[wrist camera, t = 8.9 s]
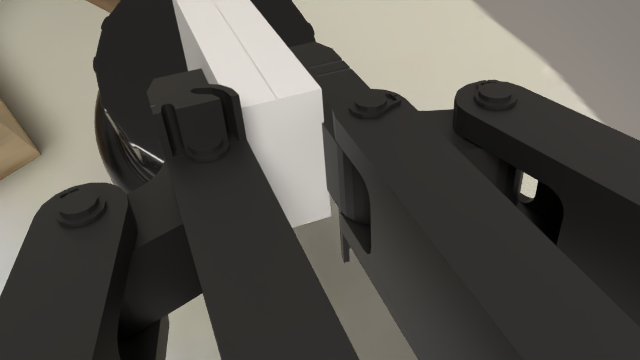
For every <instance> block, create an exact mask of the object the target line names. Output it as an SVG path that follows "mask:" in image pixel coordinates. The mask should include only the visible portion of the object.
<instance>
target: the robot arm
mask: <svg viewBox="0 0 640 360" xmlns="http://www.w3.org/2000/svg"><path fill="white" fill-rule="evenodd" d="M172 1H173V6H174V10H175V15H176V19H177V24H178V28H179V32H180V37H181V41H182V46H183V50H184V55H185V59H186V63H187V68H188V71H186V72H182V73H177V74H173V75H168V76H164V77H159V78H155V79H153V81H152V83H151V85H150V87H149V88H148V90H147V95H148V99H149V102H150V106H151V109H152V113H153V117H154V121H155V124H156V128H157V131H158V135H159V139H160V142H161V146H162V149H163V153H164V163H163V166H162V168H161V170H160V171H159V172H158V173H157V175H156V176H155V177H153V178H152V179H151V180H150V181H149V182H147V183H146V184H144V185H142V186H141V187H139V188H137V189H135V190H133V191H131V192H129V193H127V194H126V193H125V192H124V191H123V190H122V189H121V188H120V187H119V186H116V185H112V184H109V183H87V184H83V185H79V186H74V187H71V188H69V189H67V190H64V191H62V192H60V193H58V194H56V195H55V196H53V197H52V198H51V199H49V200H48V201H47V202H46V203H44V204H43V205H42V206H41V208H40V209H39V210H38V212H37V213H36V215H35V216H34V218H33V221H32V223H31V225H30V228H29V230H28V232H27V235H26V237H25V239H24V242H23V244H22V246H21V249H20V251H19V254H18V256H17V258H16V261H15V263H14V265H13V268H12V270H11V272H10V275H9V277H8V280H7V282H6V284H5V287H4V289H3V291H2V294H1V296H0V360H165V358H166V349H167V340H168V331H169V319H168V314H169V313H171V312H172V311H174V310H176V309H177V308H179V307H181V306H182V305H184V304H185V303H187V302H189V301H190V300H192V299H194V298H195V297H197V296H199V295H200V294H202V293H203V296H204V299H205V303H206V307H207V310H208V314H209V317H210V321H211V324H212V328H213V331H214V335H215V338H216V342H217V346H218V349H219V353H220V356H221V360H359V358H358V356H357V354H356V352H355V350H354V348H353V346H352V344H351V342H350V340H349V338H348V337H347V335H346V333H345V331H344V329H343V327H342V325H341V323H340V321H339V319H338V317H337V315H336V313H335V311H334V309H333V307H332V305H331V303H330V301H329V299H328V297H327V295H326V293H325V292H324V290H323V288H322V286H321V284H320V282H319V280H318V278H317V276H316V274H315V272H314V270H313V268H312V266H311V264H310V262H309V260H308V258H307V256H306V254H305V252H304V250H303V249H302V247H301V245H300V243H299V241H298V239H297V237H296V235H295V233H294V231H293V229H292V228H293V227H297V226H300V225H304V224H307V223H310V222H314V221H317V220H321V219H324V218H327V217H331V206H330V195H331V196H332V198H333V199H334V201H335V202H336V204H337V206H338V207H339V220H340V236H341V251H342V257H343V261H344V263H345V262H348V261H349V249H350V247H351V248H352V250H353V252H354V253H355V255H356V257H357V259H358V260H359V262H360V263H361V265H362V267H363V268H364V270H365V272H366V273H367V275H368V277H369V278H370V280H371V282H372V283H373V285H374V287H375V288H376V290H377V292H378V293H379V295H380V297H381V298H382V300H383V302H384V303H385V305H386V307H387V308H388V310H389V312H390V313H391V315H392V317H393V318H394V320H395V322H396V323H397V325H398V327H399V328H400V330H401V332H402V333H403V335H404V337H405V338H406V340H407V342H408V343H409V345H410V347H411V348H412V350H413V351H414V353H415V355H416V356H417V358H418V360H640V141H639V140H637V139H635V138H633V137H630V136H628V135H626V134H624V133H622V132H620V131H617V130H615V129H613V128H611V127H609V126H606V125H604V124H602V123H600V122H598V121H595V120H593V119H591V118H589V117H587V116H585V115H582V114H580V113H578V112H576V111H574V110H571V109H569V108H567V107H565V106H563V105H561V104H558V103H556V102H554V101H552V100H550V99H547V98H545V97H543V96H541V95H539V94H536V93H534V92H532V91H530V90H528V89H526V88H523V87H521V86H518V85H515V84H512V83H509V82H501V81H497V80H488V81H486V80H483V81H478V82H475V83H471V84H468V85H465V86H464V87H462V88H461V89H459V90H458V91H457V94H456V96H455V100H454V109H451V110H435V111H418V110H417V109H416V108H415V107H414V106H412V105H411V104H410V103H409V102H408V101H407V100H406V99H405V98H404V97H402V96H400V95H399V94H397V93H394V92H391V91H387V90H380V89H370V88H369V87H368V86H367V85H366V84H365V83H364V82H363V80H362V79H361V78H360V77H359V76H358V75H357V74H356V73H355V72H354V71H353V70H352V69H350V67H349V66H348V65H347V64H346V63H345V62H344V61H342V59H341V58H340V56H339V55H338V54H337V53H336V52H335V51H334V50H333V49H332V48H329V47H327V46H324V45H322V44H319V43H317V42H311V43H306V44H301V45H297V46H292V47H287V45H286V44H285V43H284V42H283V40H282V39H281V38H280V37H279V36H278V34H277V33H276V32H275V31H274V29H273V28H272V27H271V26H270V24H269V23H268V22H267V21H266V19H265V18H264V17H263V16H262V15H261V13H260V12H259V11H258V10H257V8H256V7H255V6H254V5H253V3H252V2H251V1H250V0H172ZM524 172H525V173H526V174H528V175H530V176H531V177H533V178H535V179H537V180H538V185H537V190H536V195H535V197H534V198H529V197H527V196H525V195H523V194H522V193H520V190H521V184H522V179H523V173H524Z"/></svg>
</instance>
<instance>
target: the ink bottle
mask: <svg viewBox="0 0 640 360" xmlns="http://www.w3.org/2000/svg"><path fill="white" fill-rule="evenodd" d="M250 1H251V2H252V3H253V5H254V6H255V7H256V8H257V10H258V11H259V12H260V13H261V15H262V16H263V17H264V18H265V19H266V21H267V22H268V23H269V24H270V26H271V27H272V28H273V29H274V31H275V32H276V33H277V34H278V36H279V37H280V38H281V39H282V40H283V42H284V43H285V44H286V45H287V47H292V46H297V45H301V44H306V43H311V42H316V41H315V38H314V34H315V33H314V30H313V28H312V26H311V24H310V23H308V22H307V21H306V20H305V18H304V17H303V15H302V14H301V13H300V11H299V10H298V9H297V7H296V6H295V5H294V3H293V2H292V0H250ZM101 29H102V32H101V36H100V40H99V44H98V48H97V53H96V57H94V60H93V69H94V71H95V73H96V77H97V82H98V87H99V91H98V95H97V100H96V106H95V134H96V140H97V145H98V149H99V153H100V156H101V158H102V161H103V164H104V166H105V168H106V170H107V172H108V174H109V176H110V177H111V179H112V182H113V183H114V185H116V186H119V187H120V188H121V189H122V190H123V191H124V192H125V193H126V194H127V193H129V192H131V191H133V190H135V189H137V188H139V187H141V186H142V185H144V184H146V183H147V182H149V181H150V180H151V179H152V178H153V177H155V176H156V175H157V173H158V172H159V171H160V170H161V168H162V166H163V163H164V153H163V149H162V146H161V142H160V139H159V135H158V131H157V128H156V124H155V121H154V117H153V113H152V109H151V106H150V102H149V99H148V95H147V90H148V88H149V87H150V85H151V83H152V81H153V79H155V78H159V77H164V76H168V75H173V74H177V73H182V72H186V71H188V68H187V63H186V59H185V55H184V50H183V46H182V41H181V37H180V32H179V28H178V24H177V19H176V15H175V10H174V6H173V1H172V0H121V1H120V2H119V3H118V4H117V6H116V7H115V8H114V9H113V11H112V12H111V14H110V15H109V16H108V17H106V18H105V19H104V21H103V23H102V26H101Z"/></svg>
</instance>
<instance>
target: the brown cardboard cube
mask: <svg viewBox="0 0 640 360" xmlns="http://www.w3.org/2000/svg"><path fill="white" fill-rule="evenodd" d="M86 1H88V2H90V3H92V4H94V5H96V6H98V7H100V8H102V9H104V10H106V11H108V12H110V13H111V12H112V11H113V9H114V8H115V7H116V6H117V4H118V3H119V2H120V1H121V0H86Z"/></svg>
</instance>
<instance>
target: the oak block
mask: <svg viewBox="0 0 640 360" xmlns="http://www.w3.org/2000/svg"><path fill="white" fill-rule="evenodd" d="M40 155H41V154H40V152H39V151H38V150H37V148H36V147H35V146H34V144H33V143H32V141H31V140H30V139H29V137H28V136H27V134H26V133H25V132H24V130H23V129H22V128H21V126H20V125H19V123H18V122H17V121H16V119H15V118H14V117H13V115H12V114H11V112H10V111H9V110H8V108H7V107H6V105H5V104H4V103H3V101H2V100H1V99H0V180H1V179H3V178H5V177H6V176H8V175H9V174H11V173H13V172H14V171H16V170H18V169H19V168H21V167H22V166H24V165H26V164H27V163H29V162H30V161H32V160H34V159H35V158H37V157H39V156H40Z"/></svg>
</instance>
